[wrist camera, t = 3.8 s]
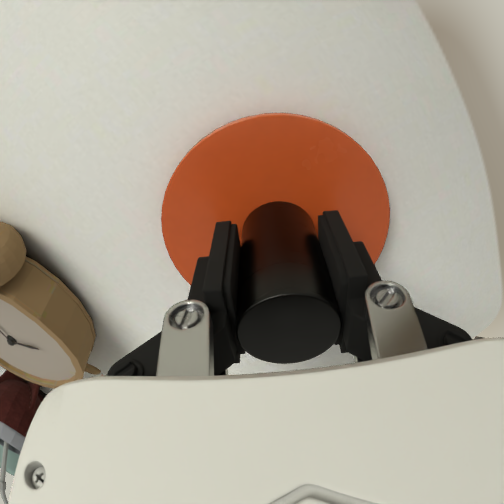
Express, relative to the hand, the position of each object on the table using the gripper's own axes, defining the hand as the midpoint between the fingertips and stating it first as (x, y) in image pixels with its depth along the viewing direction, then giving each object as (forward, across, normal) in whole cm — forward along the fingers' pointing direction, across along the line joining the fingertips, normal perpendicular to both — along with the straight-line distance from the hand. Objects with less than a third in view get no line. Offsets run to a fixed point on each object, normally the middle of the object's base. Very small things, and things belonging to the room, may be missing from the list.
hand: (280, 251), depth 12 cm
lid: (+2, 0, 0) cm, 2 cm away
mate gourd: (+3, +26, +16) cm, 31 cm away
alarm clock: (+3, +18, +2) cm, 18 cm away
